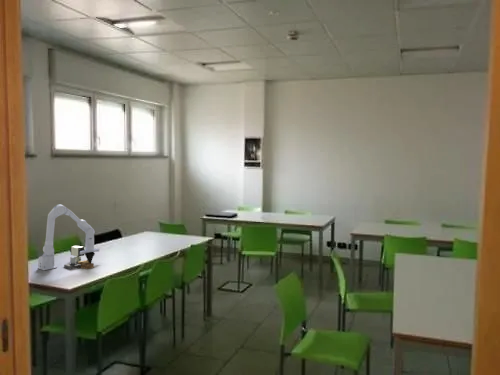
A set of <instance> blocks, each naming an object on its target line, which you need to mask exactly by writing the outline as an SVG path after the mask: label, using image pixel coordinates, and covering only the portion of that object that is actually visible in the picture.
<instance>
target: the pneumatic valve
mask: <svg viewBox="0 0 500 375" xmlns="http://www.w3.org/2000/svg"><path fill="white" fill-rule="evenodd" d="M84 250H85V246H83V245H82V246H80V245H78V244H77V245H73V246H72V245H71V246H70V249H69V252H70V256H73V257H75V263H78V262H79V261H82V259H81V258H82V257H83V256H85V254H80V251H84Z"/></svg>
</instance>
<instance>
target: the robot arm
mask: <svg viewBox="0 0 500 375" xmlns="http://www.w3.org/2000/svg"><path fill="white" fill-rule="evenodd" d="M63 215H65V216H68V217H70V218H71V219H72V220H73V221H74V222H76V225H77V226H76V227H78V228H79V229H80V230H82V232H84V234H85V244H84V245H85V246H84V251H80V254H84V256H85V258H86V260H88V263H93V258H94V256H95V254H96V252H98V253H99V252H100V248H95V233H96V231H95V229H94V228H93V227H92V225H91V224H89V223H88V222H87V220H85V219H80V217H78V216H77V215H76V214H75V213H74V212H73V211H72V210H71V209H69V208H68V207H66V205H63V204H60V203H59V204H56V205H55V206H53V208H52V209H50V211H49V212H48V214H47V220H46V231H45V241H44V245H43V247H42V251H43V254H42V255H41V256H39V257H38V259H37V262H38V267H37V269H39V270H42V271H48V270H53V269H57V266H55V248H54V236H55V225H56V224H55V223H56V219H57V218H58V217H60V216H63Z"/></svg>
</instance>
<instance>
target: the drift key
mask: <svg viewBox="0 0 500 375" xmlns="http://www.w3.org/2000/svg"><path fill="white" fill-rule="evenodd" d="M83 263H88V260H87V259H86V260H81V261H79V262H77V264H83Z"/></svg>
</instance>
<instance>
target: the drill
mask: <svg viewBox="0 0 500 375" xmlns="http://www.w3.org/2000/svg"><path fill="white" fill-rule="evenodd" d="M75 257H76V256H71V257H70V263H69V264H70V265H71V266H72V265H75V263H76V262H75Z"/></svg>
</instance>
